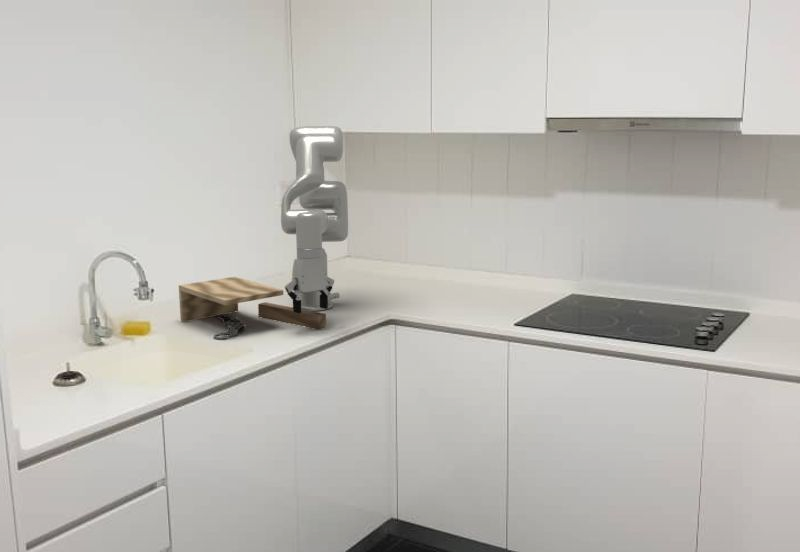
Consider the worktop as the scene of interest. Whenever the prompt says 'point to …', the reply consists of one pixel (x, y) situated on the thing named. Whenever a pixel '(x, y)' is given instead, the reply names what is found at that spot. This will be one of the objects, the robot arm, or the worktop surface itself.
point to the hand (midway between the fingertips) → (310, 310)
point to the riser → (220, 296)
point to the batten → (292, 315)
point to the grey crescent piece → (234, 328)
